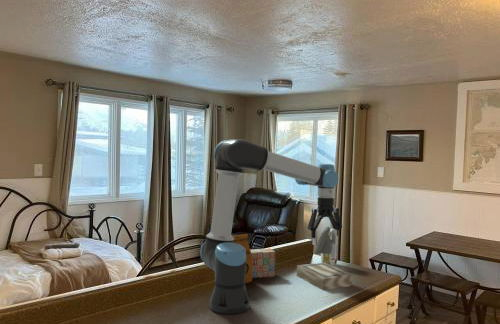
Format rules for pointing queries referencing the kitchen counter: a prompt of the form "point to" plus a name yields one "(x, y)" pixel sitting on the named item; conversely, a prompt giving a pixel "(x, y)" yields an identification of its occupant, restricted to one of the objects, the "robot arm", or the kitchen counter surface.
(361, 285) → the kitchen counter surface
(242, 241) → the coffee package
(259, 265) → the stack of blocks
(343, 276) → the birch plinth
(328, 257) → the juice carton
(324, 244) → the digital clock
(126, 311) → the kitchen counter surface
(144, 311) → the kitchen counter surface
